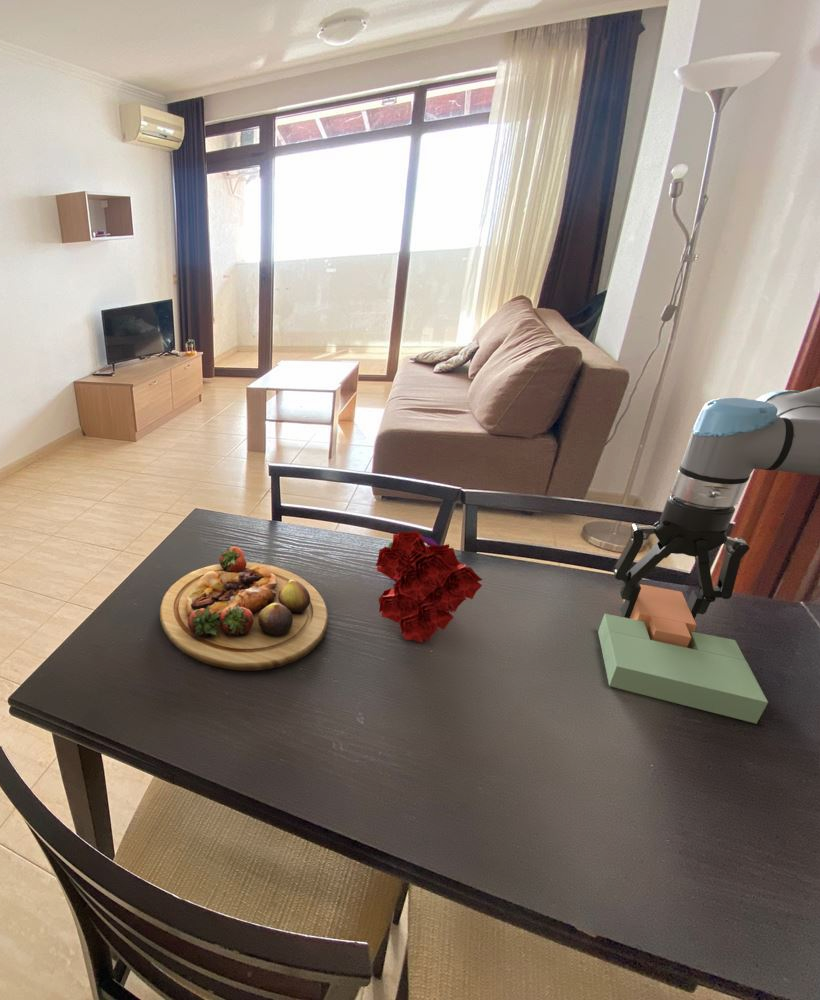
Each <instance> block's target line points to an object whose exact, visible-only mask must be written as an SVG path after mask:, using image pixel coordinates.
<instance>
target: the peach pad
mask: <svg viewBox="0 0 820 1000" xmlns="http://www.w3.org/2000/svg"><path fill="white" fill-rule="evenodd" d="M639 584H640V583H639ZM640 586H641V590H640V593H639V595H638V598H637V601H636V603H635V605H634V608H633V611H632V613H631V616H630V619H634V620H639V621H644V622H645V625H646V628H647V632H648V635H649V638H650V640H653V641H658V642H662V643H667V644H672V645H676V646H681V647H686V648H687V647H688V644H689V642H690V640H691V636H690V631H692V632H695V630H696V628H697V622H696V621H695V619H694V618H693V616H692V613H691V611H690V609H689V607H688V605H687V602H688V601H687V600H686V598H685V596H684V593H683V591H680V590H674V589H669V588H663V587H658V586H654V585H653V586H652V585H646V584H640ZM622 600H623V602H624V601H625V599H622Z"/></svg>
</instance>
